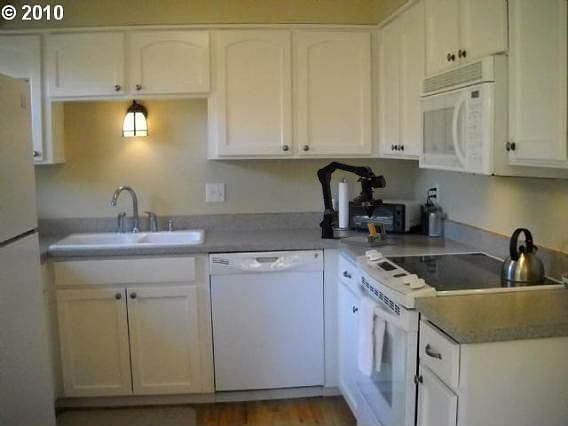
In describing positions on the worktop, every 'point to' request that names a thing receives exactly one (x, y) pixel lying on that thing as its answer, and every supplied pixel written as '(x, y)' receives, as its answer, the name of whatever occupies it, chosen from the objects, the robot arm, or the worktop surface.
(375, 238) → the breaker
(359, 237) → the breaker panel
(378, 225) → the electrical switch
